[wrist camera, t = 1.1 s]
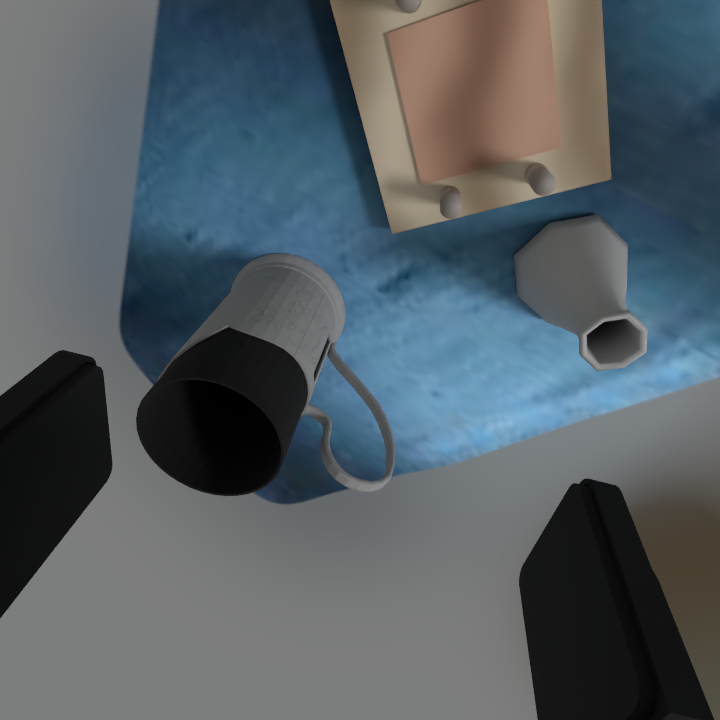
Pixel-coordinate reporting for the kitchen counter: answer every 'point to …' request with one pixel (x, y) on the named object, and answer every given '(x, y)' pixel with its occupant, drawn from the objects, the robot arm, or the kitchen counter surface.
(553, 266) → the flask
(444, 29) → the four-post base plate
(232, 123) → the kitchen counter surface
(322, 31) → the kitchen counter surface
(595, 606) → the robot arm
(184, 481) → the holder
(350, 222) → the kitchen counter surface
